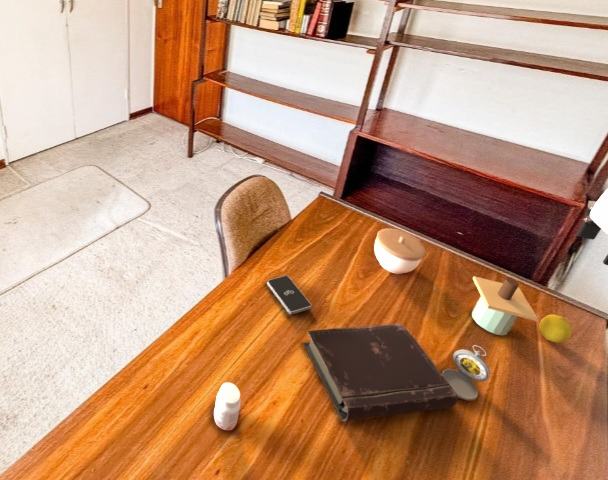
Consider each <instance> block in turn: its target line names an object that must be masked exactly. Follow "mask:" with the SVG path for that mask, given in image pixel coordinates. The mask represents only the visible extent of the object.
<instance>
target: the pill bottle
mask: <svg viewBox="0 0 608 480" xmlns="http://www.w3.org/2000/svg"><path fill="white" fill-rule="evenodd" d="M241 403H242V401H241V391H240V390H239V388H238V386H236V385H235V383H232V382H224V383H222V384H221V386H220V388H219V390H218V392H217V395H216V398H215V405H214V410H213V419H214V423H215V424H216V426H218V427H219V428H220V429H221V430H224V431H232V430H233V429H234V428H235V427H236V426H237V423H238V420H239V415H240V410H241V405H242V404H241Z"/></svg>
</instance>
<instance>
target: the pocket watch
mask: <svg viewBox="0 0 608 480" xmlns="http://www.w3.org/2000/svg"><path fill="white" fill-rule="evenodd" d="M475 347H477V348H480V349H481V350H482V351H483V352H484V354H482V353H481V350H476V349H475ZM472 350H473V351H474V352H473V351H471V350H468V349H458V350H456V351H454V353H453V354H452V362H453V364H454V366H455V367H456V368H457V370H456V369H453V368H445V369H444V370H442V372H441V374H442V375H443V377H444V378H445V379H446V380H447V382H448V383H449V384H450V386H451V387H452V388H453V389H454V391H455V392H456V393H457V394H458V399H462V400H465V401H474V400H476V399H477V398H478V396H479V391H478V388H477V386H476V384H475V382H481V383H482V382H486V381H487V380H489V378H490V375H491V372H490V371H491V370H490V367H489V365H488V363H487V362H486V361H485V360H484V359H483V358H482V357H486V356H488V353H487V351H486V350H485V349H484V348H483V347H481V345H480V346H479V345H477V344H473V345H472ZM481 356H482V357H481ZM472 380H473V381H472ZM474 381H475V382H474Z"/></svg>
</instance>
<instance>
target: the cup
mask: <svg viewBox="0 0 608 480" xmlns="http://www.w3.org/2000/svg"><path fill="white" fill-rule="evenodd" d="M471 317H472V319H473V321H474V322H475V323H476V324H477V325H478V326H480V327H481V328H482V329H483V330H485V331H487V332H489V333H491V334H493V335H497V336H506V335H508V333H509V332H510V331H511V330H512V328H513V326H514V325H515V323H516V321H518V319H519V316H515V315H511V314H507V313H504V312H500V311H496V310H492V309H488V308H487V307H486V305H485V303H484V301H483V299H482V297H481V295H479V298H478V300H477V301H476V303H475V305H474V306H473V309H472V312H471Z"/></svg>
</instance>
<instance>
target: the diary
mask: <svg viewBox="0 0 608 480" xmlns="http://www.w3.org/2000/svg"><path fill="white" fill-rule="evenodd" d="M306 333H307V335H308V337H309V339H310V341H309V342H303V343H302V344H303V346H304V348H305V350H306V352H307V354H308V357H309V358H310V360H311V362H312V364H313V366H314V368H315V370H316V372H317V374H318V376H319V378H320V380H321V382H322V384H323V386H324V388H325V390H326V392H327V394H328V396H329V398H330V399H331V401H332V404H333V406H334V408H335V410H336V411H337V413H338V414H337V415H338V416H339V417H340V420H341V421H342V422H350V421H358V420H362V419H369V418H378V417H386V416H387V417H388V416H389V417H390V416H397V415H406V414H411V413H417V412H423V411H433V410H445V409H452V408H454V407H455V406H456V404H457V403H458V400H459V397H458V394H457V393H456V392H455V391H454V389H453V388H452V387H451V386H450V384H449V383H448V382H447V380H446V379H445V378H444V377H443V375H442V372H441V371H440V369H438V367H437V366H436V364H435V363H434V362H433V360H432V359H431V357H430V356H429V355H428V354H427V352H426V351H425V350H424V349H423V348H422V346H421V344H420V343H419V342H418V341H417V340H416V339H415V337H414V336H413V335H412V334H411V333H410V331H409V330H408V329H407V328H406V327H405V326H404V324H403V323H390V324H389V323H388V324H379V325H377V324H376V325H367V326H357V327H338V328H337V327H336V328H335V327H334V328H324V329H315V330H314V329H313V330H306Z"/></svg>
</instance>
